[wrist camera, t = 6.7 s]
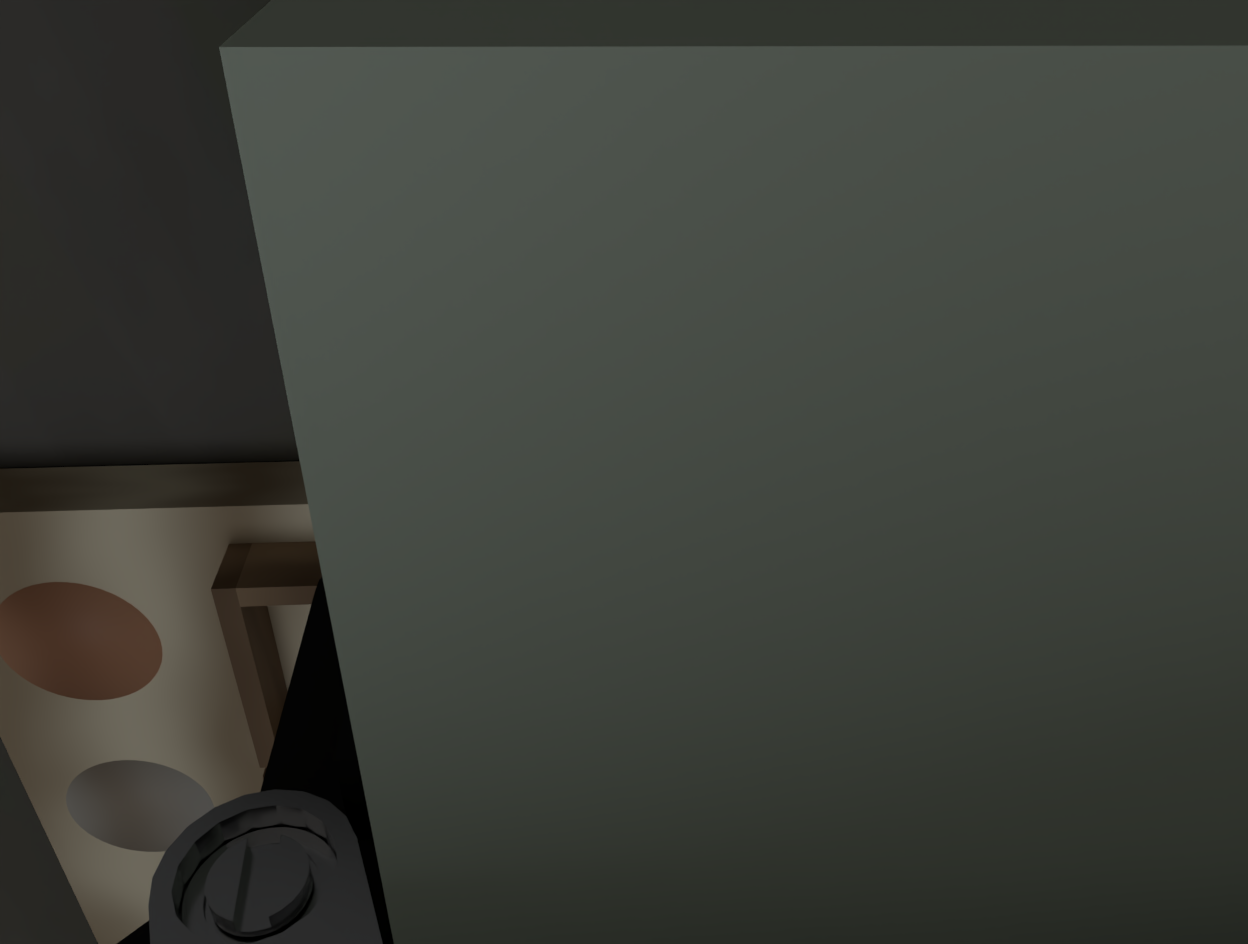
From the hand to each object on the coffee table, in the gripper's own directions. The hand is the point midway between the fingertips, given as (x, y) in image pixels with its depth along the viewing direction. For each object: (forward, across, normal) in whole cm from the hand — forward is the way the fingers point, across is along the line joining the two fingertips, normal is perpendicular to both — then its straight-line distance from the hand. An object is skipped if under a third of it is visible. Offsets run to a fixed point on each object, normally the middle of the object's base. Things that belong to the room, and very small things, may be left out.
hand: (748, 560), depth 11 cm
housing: (+1, 0, 0) cm, 1 cm away
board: (+16, +11, +20) cm, 28 cm away
